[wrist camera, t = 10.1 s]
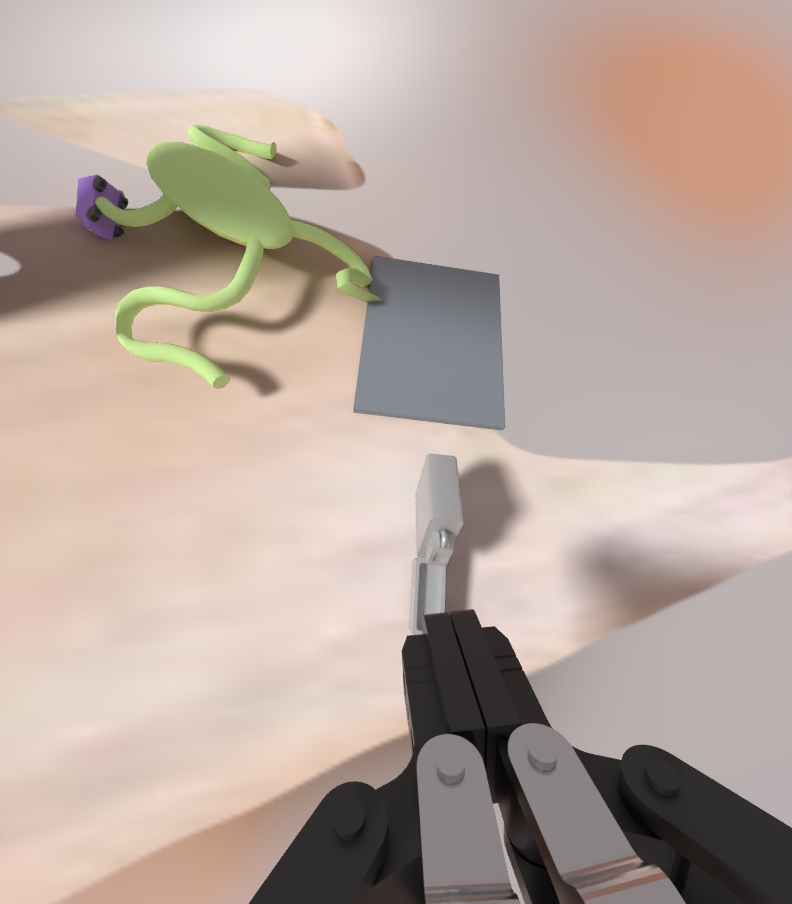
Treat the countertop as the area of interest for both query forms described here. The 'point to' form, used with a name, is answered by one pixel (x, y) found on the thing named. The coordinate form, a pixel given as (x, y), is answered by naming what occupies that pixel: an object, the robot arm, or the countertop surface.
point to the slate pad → (432, 345)
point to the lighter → (434, 535)
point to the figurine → (216, 208)
